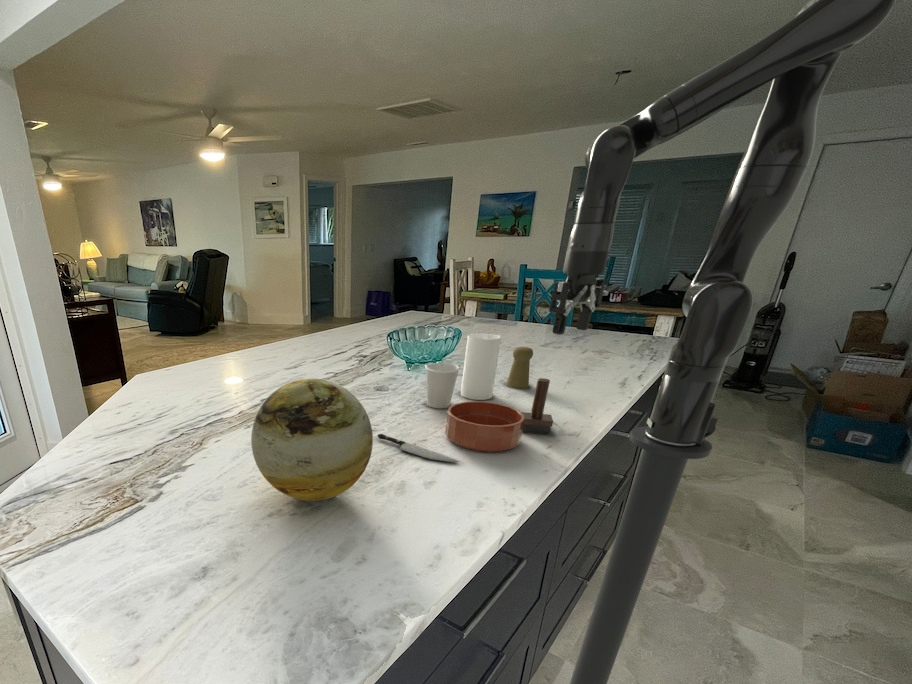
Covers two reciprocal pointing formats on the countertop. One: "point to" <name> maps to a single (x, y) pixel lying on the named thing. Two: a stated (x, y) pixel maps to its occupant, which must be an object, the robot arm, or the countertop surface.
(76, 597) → the countertop surface
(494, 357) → the white tall cylinder
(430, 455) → the chef's knife
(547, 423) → the scrub brush
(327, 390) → the decorative sphere
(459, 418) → the bowl
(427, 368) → the dixie cup
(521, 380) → the olive pepper shaker
